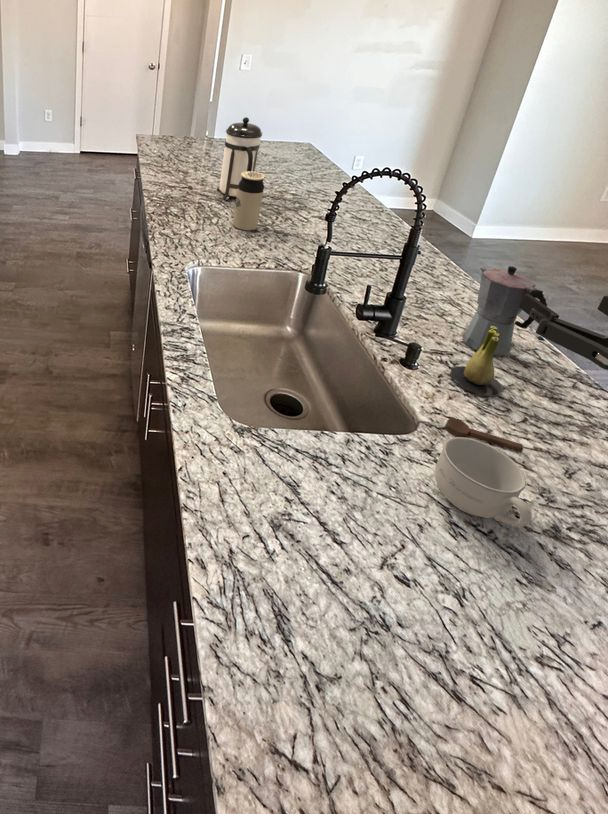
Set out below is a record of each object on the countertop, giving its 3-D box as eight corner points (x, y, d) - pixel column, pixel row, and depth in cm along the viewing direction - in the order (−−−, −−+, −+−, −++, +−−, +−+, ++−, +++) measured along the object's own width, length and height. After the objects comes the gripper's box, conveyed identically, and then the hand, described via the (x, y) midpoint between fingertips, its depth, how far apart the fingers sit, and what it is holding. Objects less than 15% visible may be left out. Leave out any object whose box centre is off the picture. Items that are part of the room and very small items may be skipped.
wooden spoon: (518, 443, 96) (521, 438, 96) (522, 457, 93) (525, 452, 93) (444, 420, 101) (446, 415, 100) (446, 433, 98) (448, 428, 97)
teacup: (415, 468, 90) (430, 433, 87) (480, 471, 90) (497, 436, 87) (464, 547, 78) (483, 509, 74) (539, 551, 78) (562, 513, 74)
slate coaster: (497, 376, 113) (498, 374, 113) (504, 403, 105) (505, 401, 105) (448, 363, 116) (449, 361, 116) (452, 388, 109) (452, 386, 109)
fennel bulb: (470, 368, 114) (489, 321, 109) (495, 382, 110) (517, 334, 105) (456, 378, 111) (475, 330, 106) (482, 392, 107) (503, 343, 102)
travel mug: (255, 222, 182) (264, 172, 175) (257, 232, 175) (267, 180, 167) (231, 220, 183) (239, 170, 176) (233, 229, 176) (241, 177, 169)
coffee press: (205, 194, 205) (215, 116, 192) (229, 185, 215) (240, 110, 202) (244, 208, 193) (257, 126, 180) (267, 198, 203) (282, 119, 190)
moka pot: (471, 324, 130) (500, 251, 122) (535, 363, 117) (573, 285, 109) (441, 330, 127) (469, 256, 119) (504, 371, 114) (540, 291, 106)
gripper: (585, 406, 73) (483, 318, 92) (764, 410, 74) (625, 321, 93) (609, 362, 70) (498, 280, 89) (796, 367, 70) (645, 284, 90)
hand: (563, 301), depth 91 cm, fingers open, 13 cm apart
